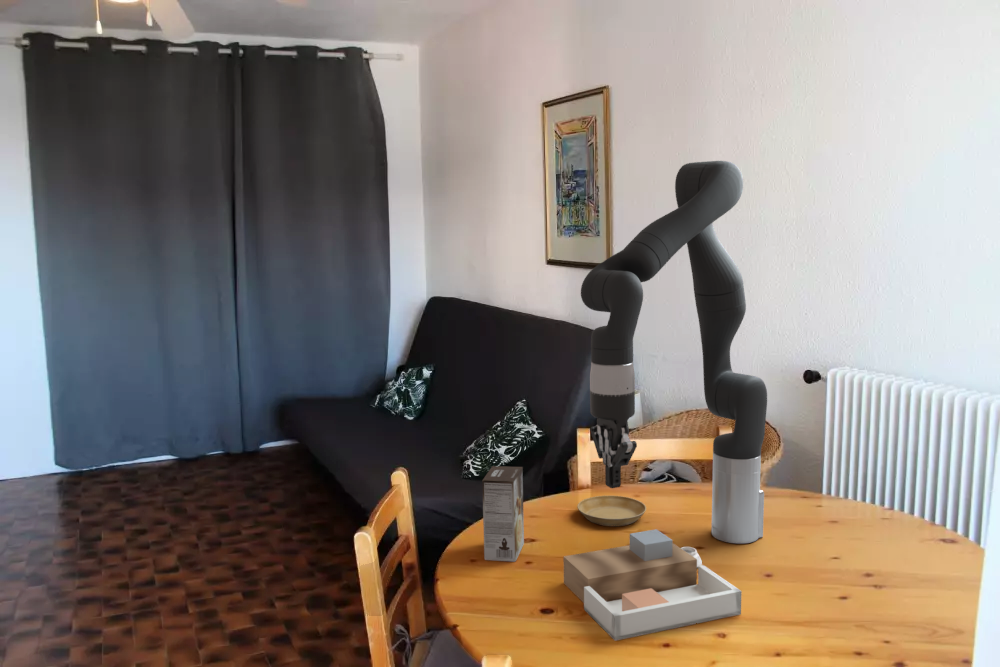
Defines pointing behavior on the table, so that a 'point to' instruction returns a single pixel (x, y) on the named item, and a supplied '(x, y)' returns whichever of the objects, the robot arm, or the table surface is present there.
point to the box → (667, 607)
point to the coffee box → (503, 513)
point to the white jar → (693, 554)
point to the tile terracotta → (641, 599)
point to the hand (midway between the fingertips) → (613, 486)
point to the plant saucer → (612, 510)
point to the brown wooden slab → (627, 572)
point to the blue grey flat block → (651, 545)
